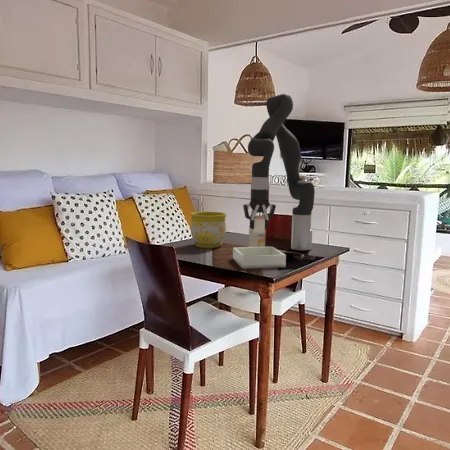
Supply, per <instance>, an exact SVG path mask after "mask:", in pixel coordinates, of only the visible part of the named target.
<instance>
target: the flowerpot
mask: <svg viewBox="0 0 450 450" xmlns="http://www.w3.org/2000/svg"><path fill="white" fill-rule="evenodd" d="M190 217H191V224H190V234H191V238H192V239H193V241H194V242H193V244H195V246H196V248H202V249H203V248H204V249H215V248H219V247H221V246H222V244H223V240H224V239H225V236H226V233H227V232H226V231H227V224H226V220H227V219H226V218H227V213H225V212H221V211H196V212H191V213H190Z"/></svg>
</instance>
